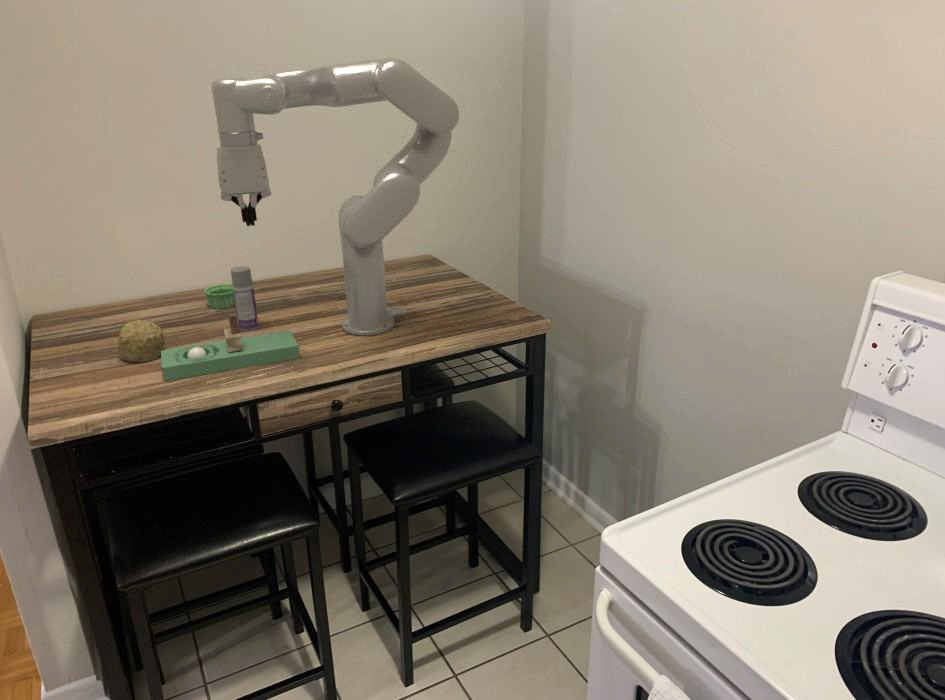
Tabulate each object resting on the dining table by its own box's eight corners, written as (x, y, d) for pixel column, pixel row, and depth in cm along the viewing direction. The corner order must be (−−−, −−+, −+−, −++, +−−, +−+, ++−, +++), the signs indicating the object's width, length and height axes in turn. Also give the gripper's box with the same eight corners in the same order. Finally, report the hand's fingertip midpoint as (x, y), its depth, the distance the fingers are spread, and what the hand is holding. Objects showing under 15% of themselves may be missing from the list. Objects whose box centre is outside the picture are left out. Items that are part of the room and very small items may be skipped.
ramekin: (246, 298, 200) (243, 283, 198) (235, 309, 192) (233, 294, 190) (213, 298, 200) (211, 283, 199) (201, 310, 192) (199, 294, 190)
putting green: (291, 342, 170) (290, 330, 169) (299, 358, 162) (298, 345, 161) (163, 363, 161) (160, 350, 160) (164, 381, 152) (161, 368, 151)
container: (246, 323, 182) (237, 265, 176) (262, 325, 181) (254, 266, 175) (235, 330, 178) (226, 271, 172) (252, 332, 177) (243, 272, 171)
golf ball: (195, 365, 161) (210, 353, 161) (196, 372, 157) (211, 360, 157) (182, 352, 158) (197, 341, 159) (183, 359, 155) (198, 347, 155)
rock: (161, 358, 172) (140, 321, 171) (179, 346, 164) (156, 307, 163) (124, 376, 165) (101, 337, 164) (140, 364, 157) (116, 323, 156)
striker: (239, 340, 163) (234, 310, 161) (242, 349, 158) (237, 318, 155) (225, 342, 162) (220, 312, 159) (228, 352, 157) (223, 321, 154)
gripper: (271, 135, 161) (281, 217, 169) (200, 140, 156) (213, 224, 164) (276, 139, 155) (287, 224, 162) (202, 144, 150) (216, 232, 157)
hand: (250, 224), depth 163 cm, fingers closed
